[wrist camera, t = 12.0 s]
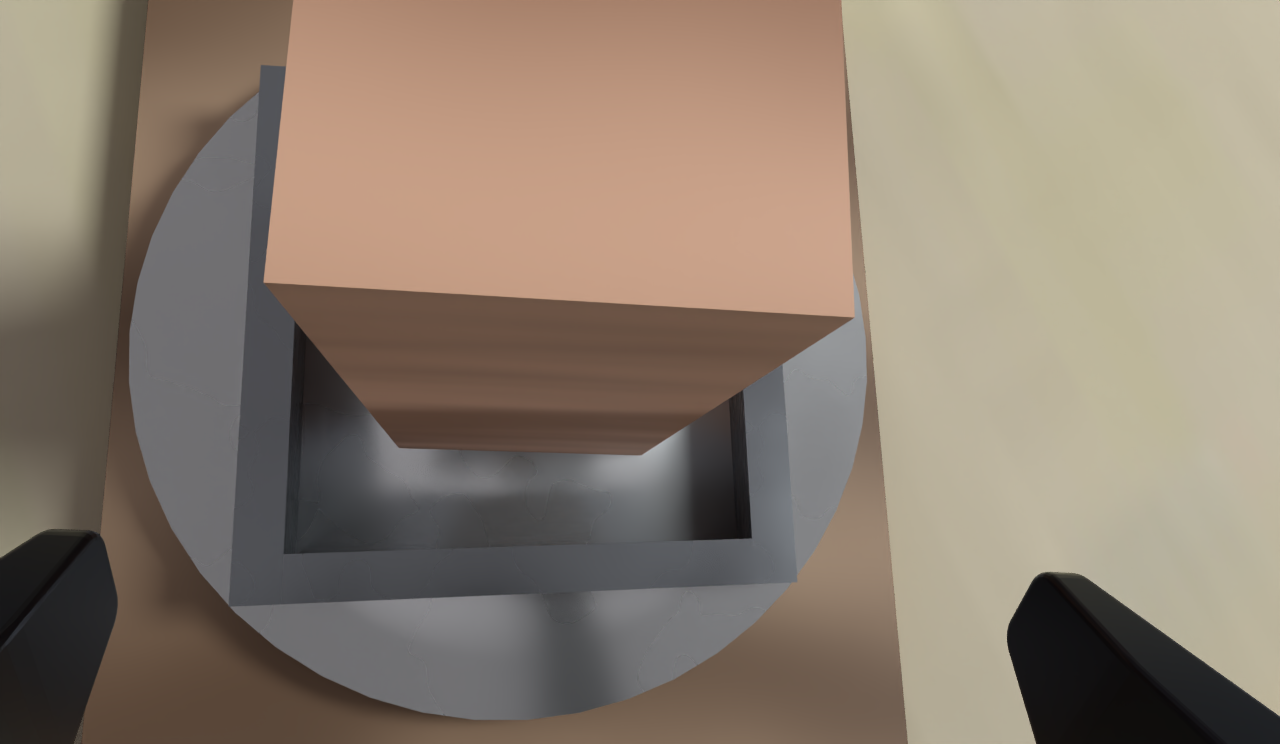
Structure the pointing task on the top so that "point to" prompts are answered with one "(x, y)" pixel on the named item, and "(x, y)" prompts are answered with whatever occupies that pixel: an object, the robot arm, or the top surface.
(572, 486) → the rosette plate
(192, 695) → the walnut board
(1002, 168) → the top surface
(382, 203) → the tan wooden block
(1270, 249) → the top surface
